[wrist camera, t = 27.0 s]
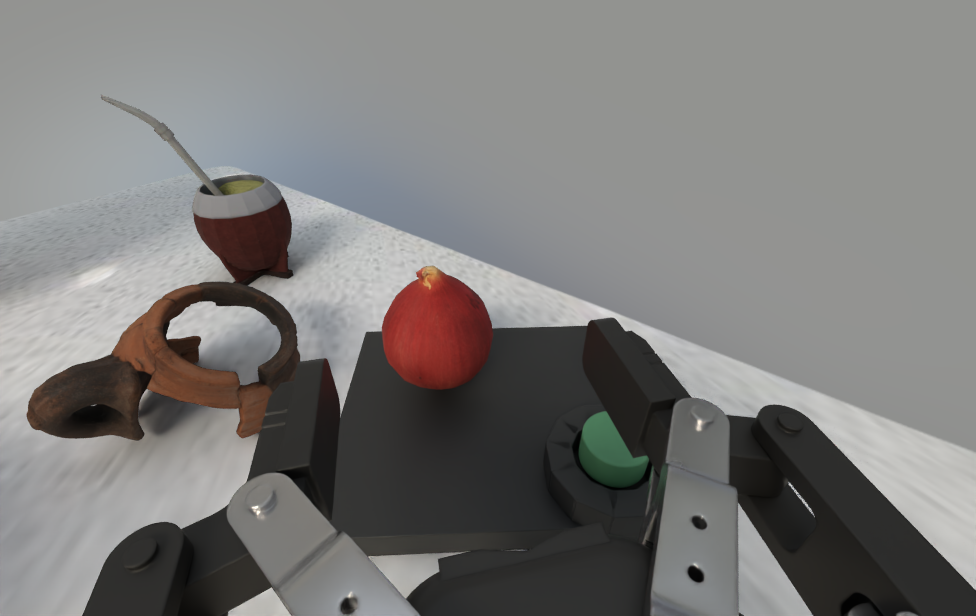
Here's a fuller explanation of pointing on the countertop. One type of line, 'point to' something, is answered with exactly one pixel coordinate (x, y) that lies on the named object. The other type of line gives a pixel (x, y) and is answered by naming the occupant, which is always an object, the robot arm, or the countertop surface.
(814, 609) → the robot arm
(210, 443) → the countertop surface
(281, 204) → the mate gourd
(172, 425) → the countertop surface
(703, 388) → the countertop surface
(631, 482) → the button
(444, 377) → the onion
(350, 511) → the scale
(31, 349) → the countertop surface
